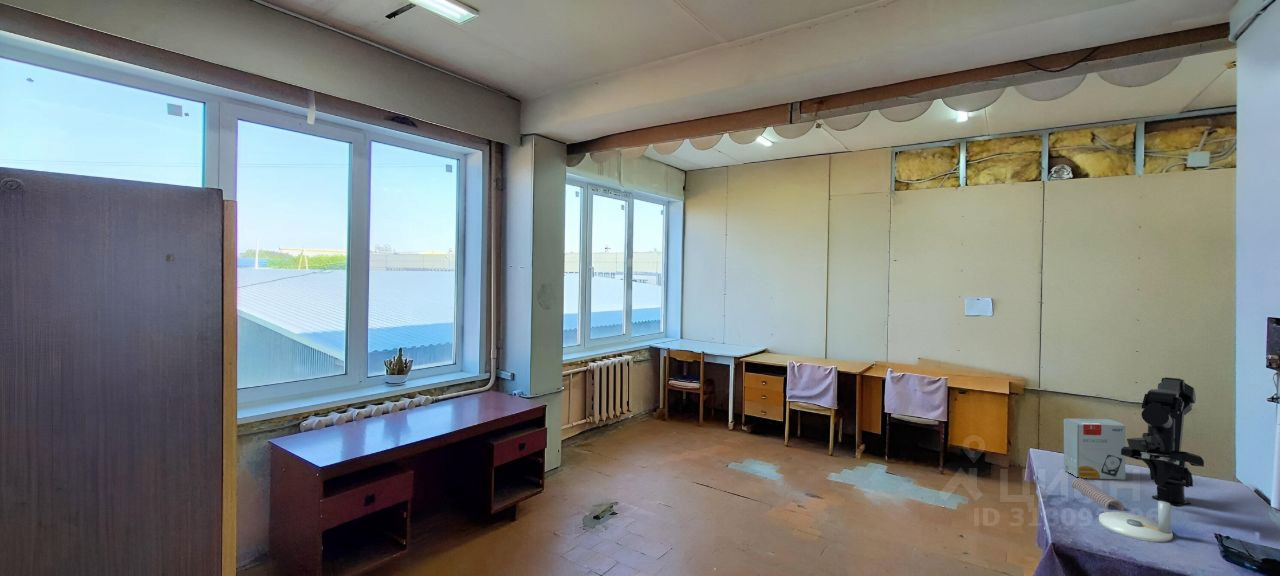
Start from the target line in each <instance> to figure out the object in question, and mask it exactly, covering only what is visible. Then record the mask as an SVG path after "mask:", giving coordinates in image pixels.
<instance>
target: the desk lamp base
mask: <svg viewBox="0 0 1280 576" xmlns="http://www.w3.org/2000/svg"><path fill="white" fill-rule="evenodd" d="M1171 509H1172V508H1171V504H1170V503H1168V502H1165V501H1160V500H1158V501H1157V518H1158V519H1157V521H1156V520H1155V519H1152V518H1149V517H1146V516H1142V515H1138V514H1134V513H1130V512H1123V511H1105V512H1102V513H1100V514H1099V515H1098V521H1099V523H1100V524H1101V526H1102V527H1104V528H1106V529H1107V530H1109V531H1111V532H1113V533H1116V534H1118V535H1120V536H1124V537H1126V538H1131V539H1135V540H1139V541H1143V542H1152V543H1166V542H1169V541H1172V540H1173V537H1174V535H1173V531H1172V527H1171V526H1172V523H1171V522H1172V520H1171V519H1172V517H1171V514H1172V513H1171Z"/></svg>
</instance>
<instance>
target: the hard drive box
mask: <svg viewBox="0 0 1280 576" xmlns="http://www.w3.org/2000/svg"><path fill="white" fill-rule="evenodd" d="M1123 447H1126V424H1123V423H1121V422H1119V421H1116V420H1114V419H1113V420H1112V419H1111V418H1110V419H1109V418H1063V471H1064V470H1065V471H1064V472H1066V471H1067V472H1066V473H1068V472H1069V473H1071V474H1073V475H1074V476H1076V477H1082V478H1081V479H1086V478H1087V479H1086V480H1093V479H1095V480H1096V479H1097V480H1098V479H1099V480H1111V479H1118V481H1119V480H1123V481H1124V480H1125V481H1126V456H1123V455H1121V449H1122V448H1123ZM1069 473H1068V474H1069ZM1071 474H1070V475H1071ZM1073 475H1072V476H1073ZM1074 476H1073V477H1074ZM1076 477H1075V478H1076Z"/></svg>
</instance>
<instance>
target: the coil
mask: <svg viewBox="0 0 1280 576" xmlns="http://www.w3.org/2000/svg"><path fill="white" fill-rule="evenodd" d="M1071 487H1072V488H1073V489H1075V490H1077V491H1078V492H1079V493H1081V494H1083V495H1085V497H1087V498H1089V499H1091V501H1094V502H1095V503H1097V504H1098V505H1099V506H1100V507H1103V508H1104V509H1105V510H1109V505H1112V506H1113V507H1115V508H1117V510H1120V511H1121V512H1123V511H1125V506H1124V504H1123V503H1122V501H1120V500H1119V499H1117V498H1115V497H1113V496H1112V495H1110V494H1109V493H1107V492H1105V491H1104V490H1102V489H1100V488H1098V487H1097V486H1096V485H1094V484H1093V483H1090V482H1089V481H1087V479H1086V480H1085V478H1075V479H1072V482H1071Z"/></svg>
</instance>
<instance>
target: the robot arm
mask: <svg viewBox="0 0 1280 576" xmlns="http://www.w3.org/2000/svg"><path fill="white" fill-rule="evenodd" d="M1160 381H1161V382H1160V383H1158V384H1157V388H1155V389H1154V388H1153V389H1150V390H1148V391H1147V393H1144V397H1143V400H1142V404H1141V409H1142V411H1141V418H1142V420H1143V421H1144V422H1145V423H1146V424H1147V432H1143V433H1142V437H1133V438H1130V437H1129V438H1126V442H1127V444H1128V446H1125V447H1123V448H1122V449H1121V455H1123V456H1125V457H1126V458H1131V459H1134V460H1138V461H1142V462H1143V463H1145V465H1146V466H1147V467H1148V470H1149V473H1150V475H1149V476H1150V480H1152V481H1153V482H1154V484H1155V485H1156V494H1155V495H1151V498H1152V499H1153V500H1158V501H1165V502H1168V503H1170V506H1176V507H1179V506H1184V505H1190V504H1191V501H1189V500H1186V499H1185V487H1186V488H1189V487H1190V488H1191V487H1193V486H1194V480H1193V473H1192V472H1191V470H1190V469H1189V467H1187V466H1188V465H1187V463H1188V464H1189V465H1191V466H1193V467H1201V468H1203V467H1204V466H1205V460H1204V458H1202V456H1201V455H1198V454H1194V453H1192V452H1191V453H1190V452H1188V451H1183V450H1182V444H1183V443H1182V442H1183V433H1184V432H1183V431H1184V421H1185V420H1184V419H1185V415H1187V414H1188V413H1189V412H1191V411H1192V409H1193V405H1194V404H1196V400H1197V399H1196V396H1197V395H1196V390H1195V388H1194V387H1193V386H1191V385H1189V384H1187V383H1186V382H1185V379H1182V378H1178V377H1177V378H1176V377H1168V376H1167V377H1166V376H1165V377H1161V380H1160Z"/></svg>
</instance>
